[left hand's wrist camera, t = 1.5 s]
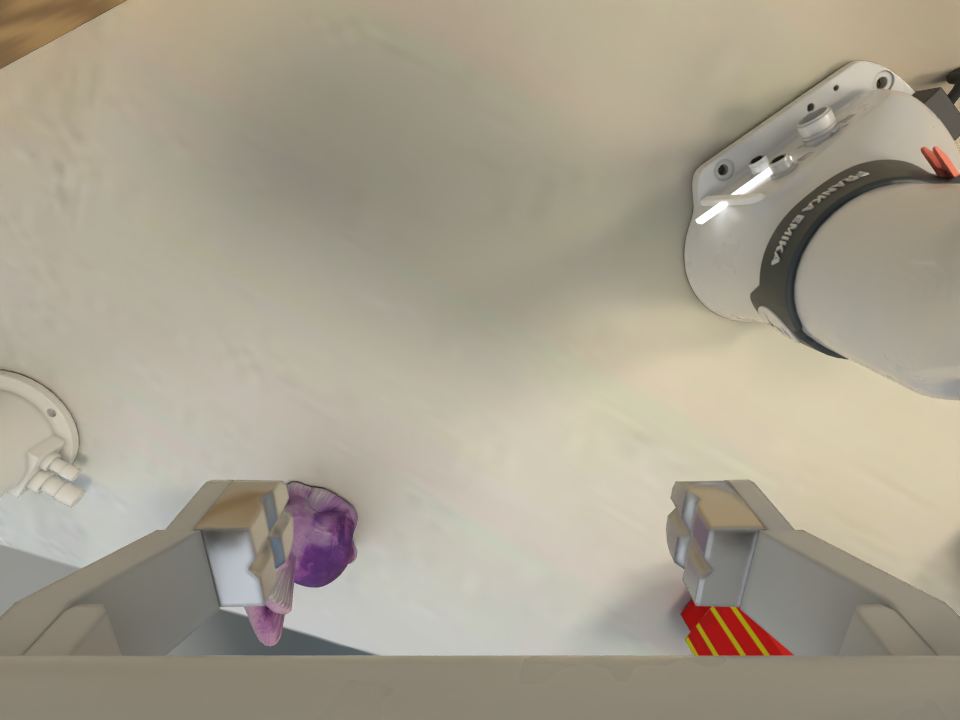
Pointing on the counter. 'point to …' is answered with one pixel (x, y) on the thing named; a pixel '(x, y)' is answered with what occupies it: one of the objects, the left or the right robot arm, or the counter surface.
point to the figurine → (307, 554)
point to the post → (42, 22)
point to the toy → (727, 633)
